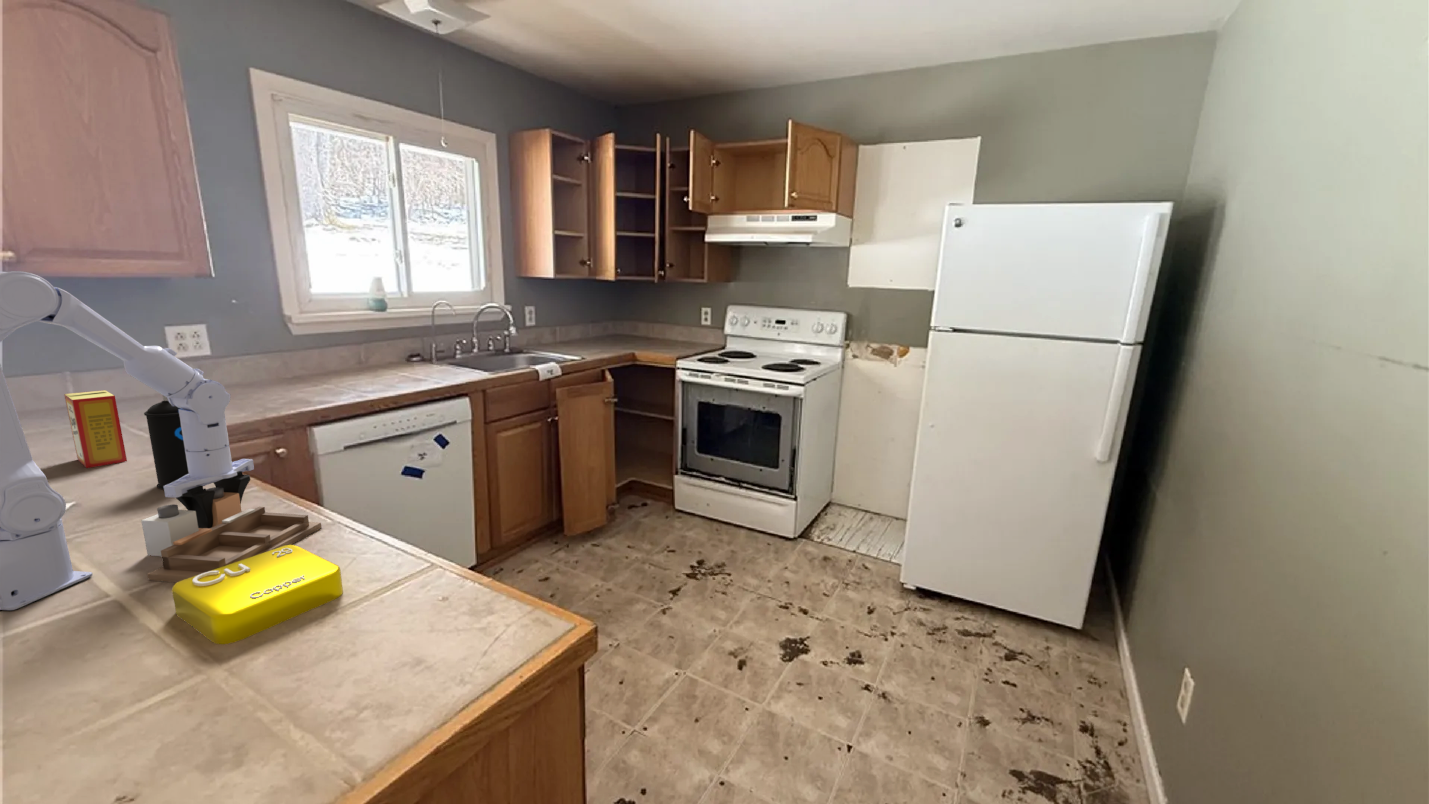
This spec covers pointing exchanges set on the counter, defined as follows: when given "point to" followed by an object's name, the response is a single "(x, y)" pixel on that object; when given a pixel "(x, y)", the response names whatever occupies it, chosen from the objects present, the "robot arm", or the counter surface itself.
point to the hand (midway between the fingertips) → (219, 521)
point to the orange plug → (224, 505)
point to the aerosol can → (166, 442)
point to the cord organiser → (231, 543)
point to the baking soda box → (95, 428)
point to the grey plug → (167, 528)
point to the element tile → (256, 593)
